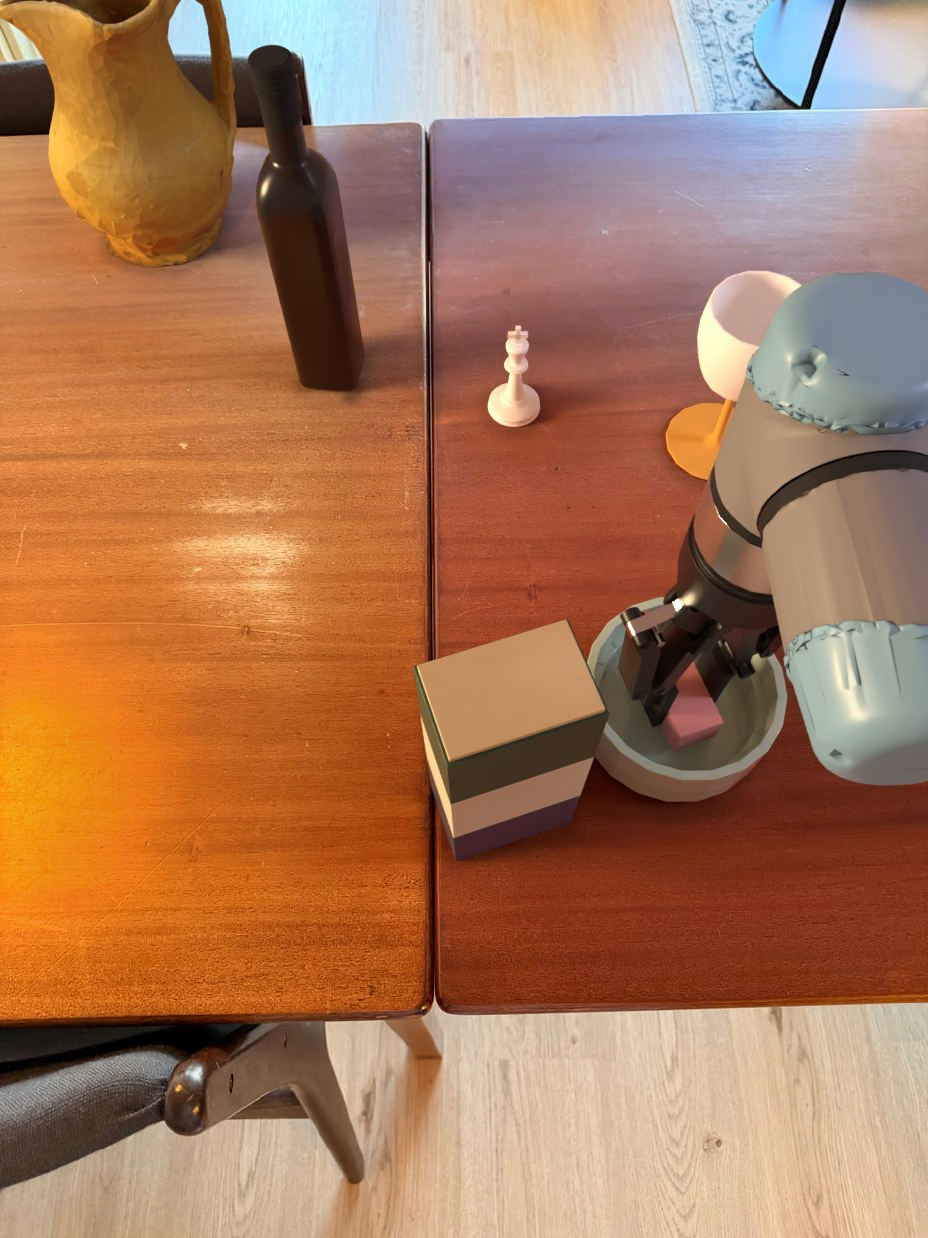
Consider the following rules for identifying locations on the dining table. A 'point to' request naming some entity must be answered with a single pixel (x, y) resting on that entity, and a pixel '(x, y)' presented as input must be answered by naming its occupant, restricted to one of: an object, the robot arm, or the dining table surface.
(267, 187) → the wine bottle
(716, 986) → the dining table surface
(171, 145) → the pitcher
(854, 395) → the robot arm
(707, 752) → the bowl
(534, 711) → the felt pad
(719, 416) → the cup
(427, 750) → the book stack
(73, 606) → the dining table surface
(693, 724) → the eraser
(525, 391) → the chess piece
